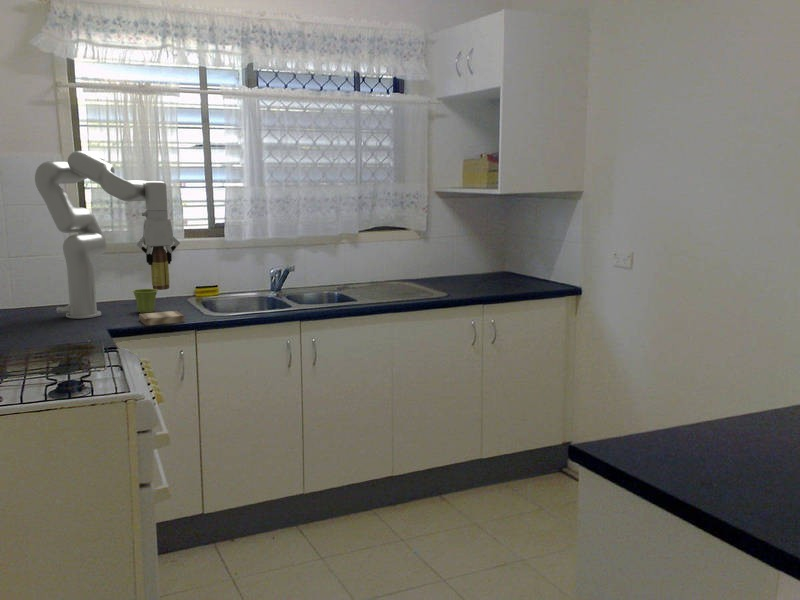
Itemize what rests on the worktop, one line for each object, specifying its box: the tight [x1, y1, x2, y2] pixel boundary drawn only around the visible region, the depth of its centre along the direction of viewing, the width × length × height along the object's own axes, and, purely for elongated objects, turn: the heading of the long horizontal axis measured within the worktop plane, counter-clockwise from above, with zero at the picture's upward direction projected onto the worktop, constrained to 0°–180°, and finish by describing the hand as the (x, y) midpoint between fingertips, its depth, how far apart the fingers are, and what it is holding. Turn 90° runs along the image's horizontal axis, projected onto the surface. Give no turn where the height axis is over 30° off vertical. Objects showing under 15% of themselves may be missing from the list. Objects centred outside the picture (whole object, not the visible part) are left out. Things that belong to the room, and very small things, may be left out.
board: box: [138, 310, 185, 327], centre depth 279 cm, size 14×11×2 cm
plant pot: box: [132, 288, 159, 314], centre depth 298 cm, size 9×9×9 cm
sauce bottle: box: [150, 246, 170, 291], centre depth 276 cm, size 6×6×20 cm
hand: (159, 263), depth 276 cm, fingers closed on sauce bottle, 6 cm apart
